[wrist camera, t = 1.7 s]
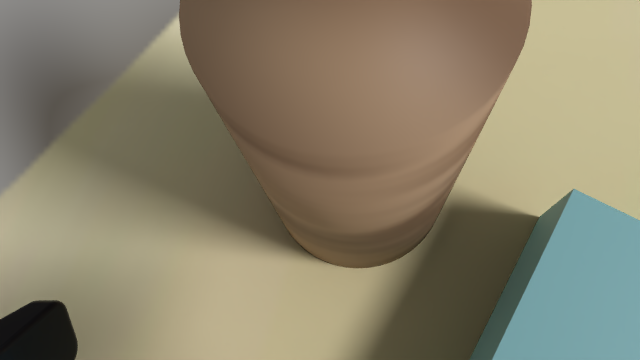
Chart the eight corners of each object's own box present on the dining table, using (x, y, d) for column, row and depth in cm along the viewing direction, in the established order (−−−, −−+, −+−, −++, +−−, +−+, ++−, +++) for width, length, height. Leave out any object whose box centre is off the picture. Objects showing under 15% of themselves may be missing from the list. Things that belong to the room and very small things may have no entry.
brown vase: (390, 301, 20) (424, 224, 9) (243, 213, 22) (110, 52, 10) (471, 156, 22) (589, -69, 10) (329, 85, 23) (296, -175, 12)
